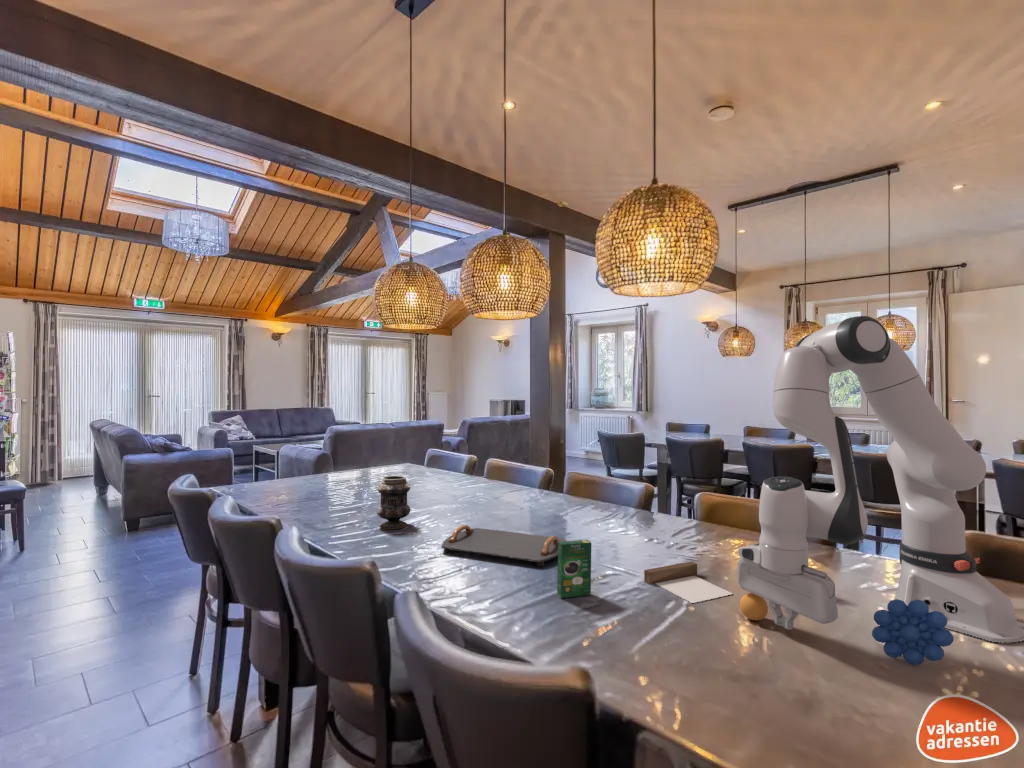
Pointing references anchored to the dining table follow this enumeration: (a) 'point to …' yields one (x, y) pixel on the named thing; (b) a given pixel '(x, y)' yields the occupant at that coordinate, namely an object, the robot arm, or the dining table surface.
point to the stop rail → (670, 572)
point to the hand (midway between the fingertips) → (783, 626)
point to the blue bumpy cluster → (912, 631)
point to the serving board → (503, 544)
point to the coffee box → (574, 568)
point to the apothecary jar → (393, 501)
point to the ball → (753, 606)
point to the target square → (693, 589)
